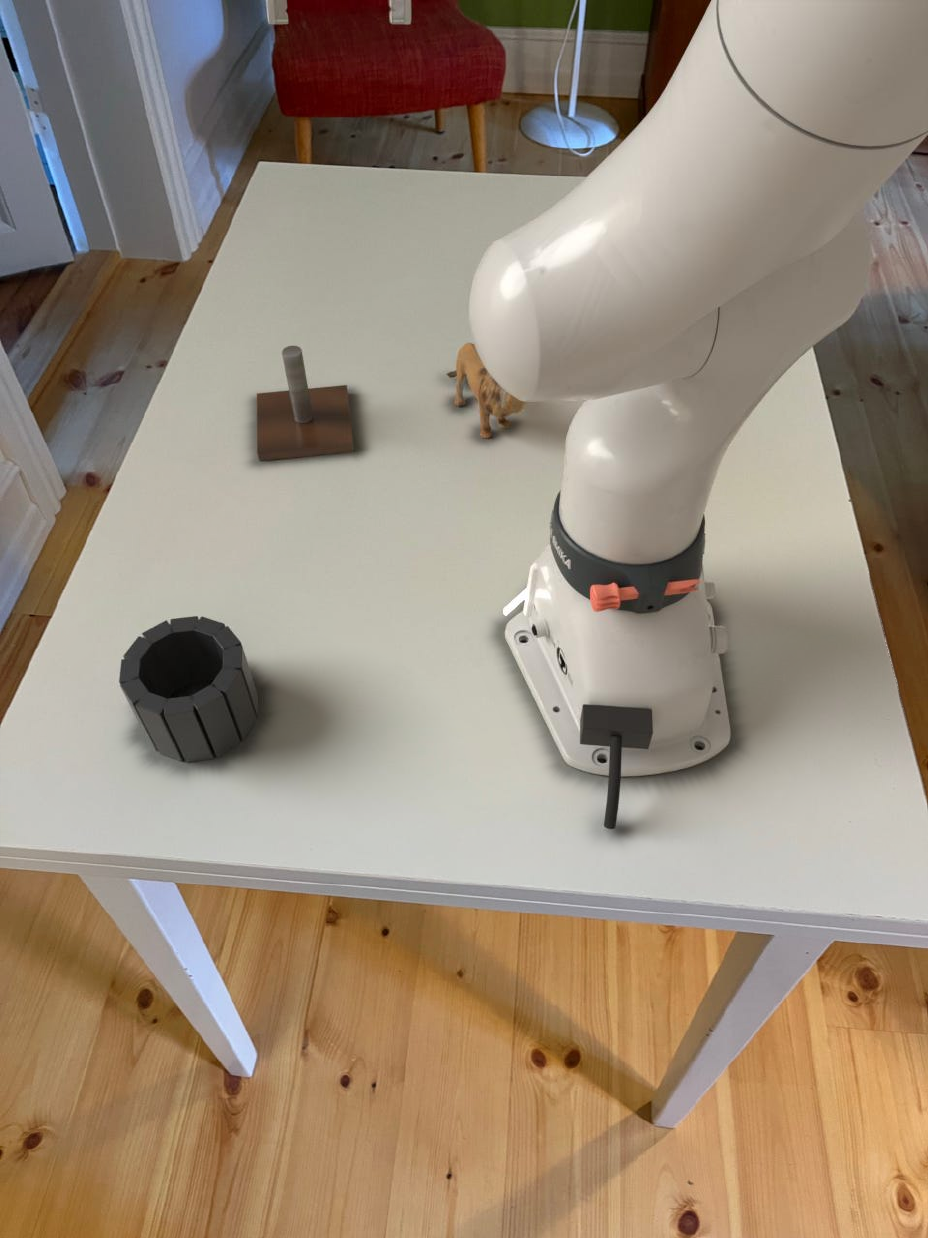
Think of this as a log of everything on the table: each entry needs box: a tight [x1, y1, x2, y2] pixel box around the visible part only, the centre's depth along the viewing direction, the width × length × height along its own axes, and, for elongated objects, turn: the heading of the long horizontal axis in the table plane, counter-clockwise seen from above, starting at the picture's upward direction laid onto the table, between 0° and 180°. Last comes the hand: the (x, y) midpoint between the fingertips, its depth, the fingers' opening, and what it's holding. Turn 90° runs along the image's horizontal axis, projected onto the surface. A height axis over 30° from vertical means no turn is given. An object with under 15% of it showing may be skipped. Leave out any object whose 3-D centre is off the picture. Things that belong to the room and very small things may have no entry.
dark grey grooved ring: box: [118, 615, 259, 763], centre depth 75 cm, size 9×9×7 cm
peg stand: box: [256, 345, 355, 462], centre depth 97 cm, size 10×10×10 cm
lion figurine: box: [446, 342, 527, 439], centre depth 99 cm, size 15×5×9 cm, turn 33°
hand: (339, 23), depth 72 cm, fingers open, 8 cm apart
